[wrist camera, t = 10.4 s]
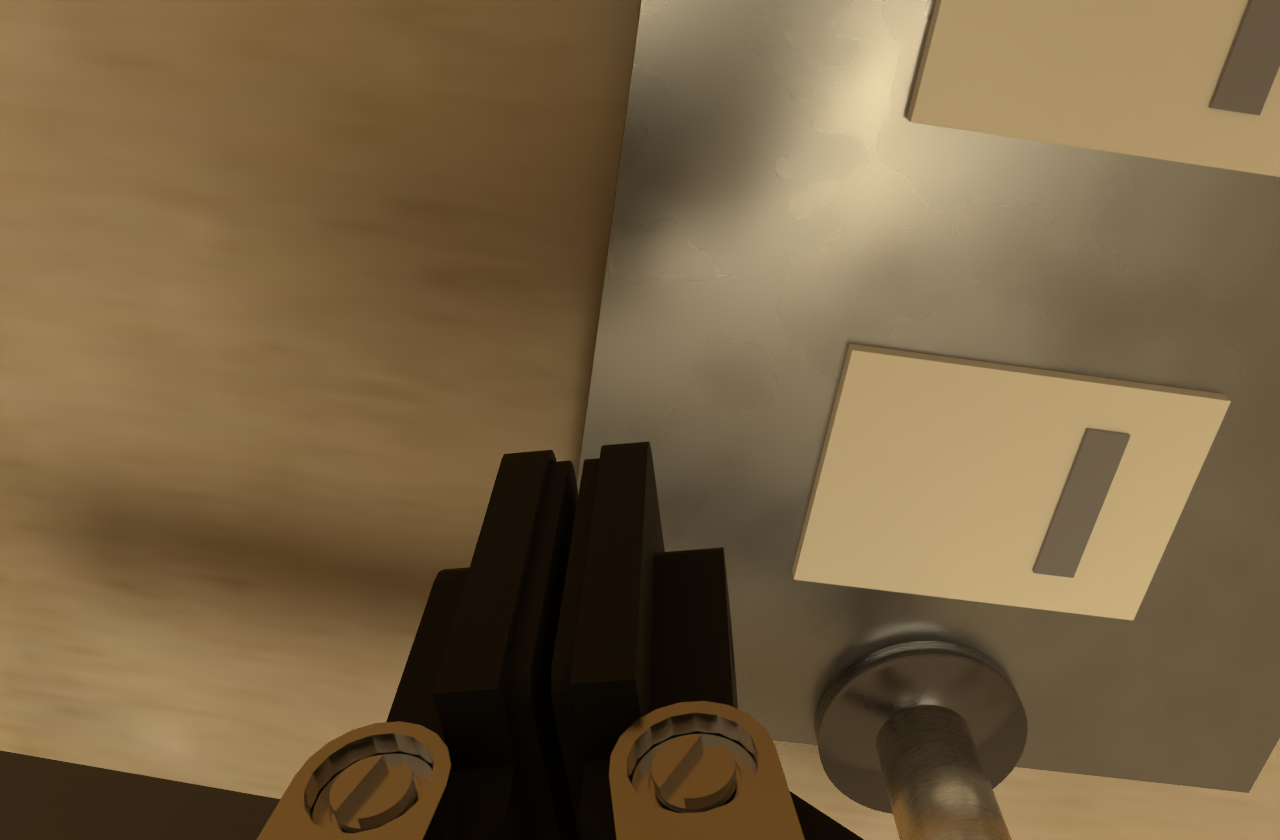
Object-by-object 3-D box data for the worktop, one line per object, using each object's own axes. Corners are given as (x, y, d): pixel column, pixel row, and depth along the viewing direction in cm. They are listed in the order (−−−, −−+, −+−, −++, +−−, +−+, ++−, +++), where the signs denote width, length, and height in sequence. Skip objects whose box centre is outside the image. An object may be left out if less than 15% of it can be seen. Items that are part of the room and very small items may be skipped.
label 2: (849, 343, 19) (853, 352, 19) (1223, 393, 19) (1234, 403, 19) (791, 570, 21) (794, 583, 21) (1127, 611, 22) (1135, 623, 21)
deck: (695, -412, 15) (729, -600, 9) (1754, -224, 16) (2413, -283, 10) (544, 723, 24) (512, 991, 19) (1207, 796, 25) (1376, 1073, 20)
